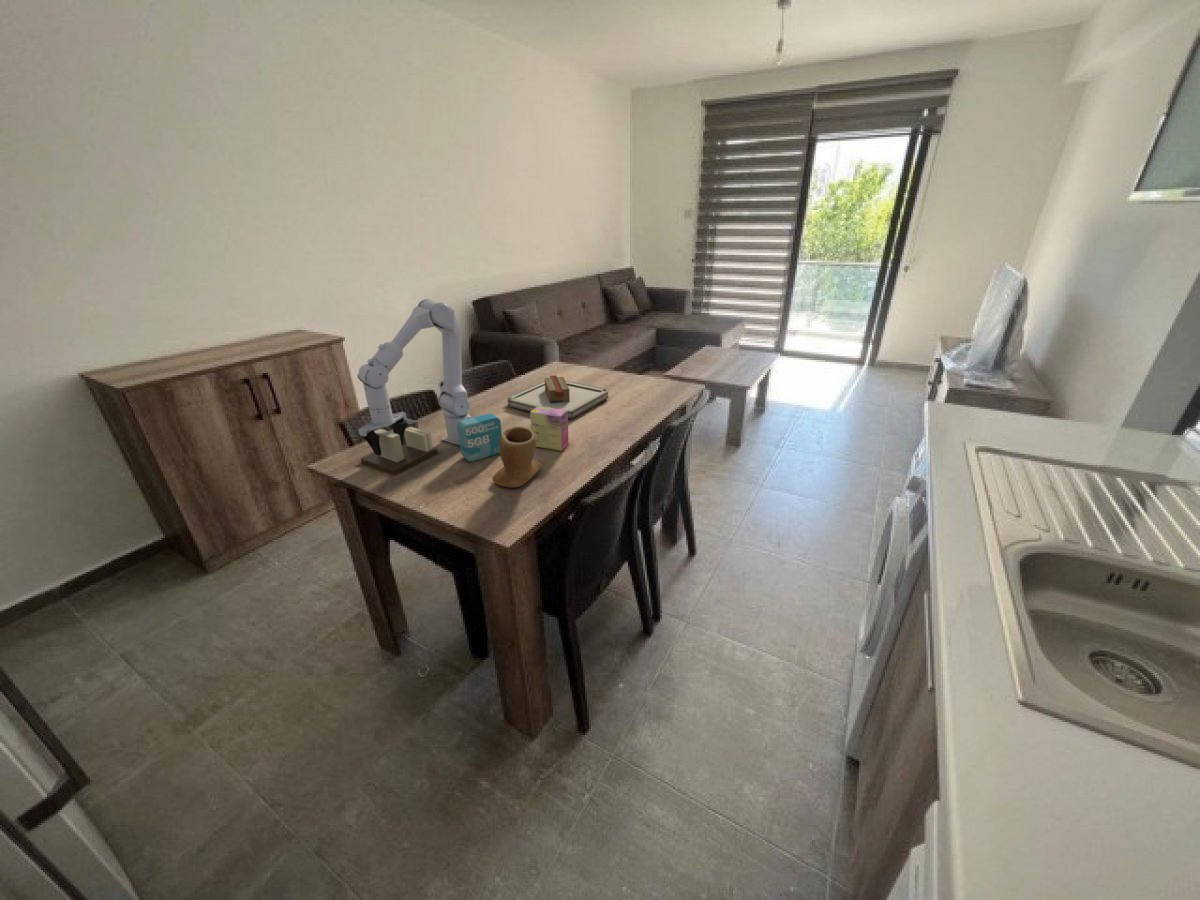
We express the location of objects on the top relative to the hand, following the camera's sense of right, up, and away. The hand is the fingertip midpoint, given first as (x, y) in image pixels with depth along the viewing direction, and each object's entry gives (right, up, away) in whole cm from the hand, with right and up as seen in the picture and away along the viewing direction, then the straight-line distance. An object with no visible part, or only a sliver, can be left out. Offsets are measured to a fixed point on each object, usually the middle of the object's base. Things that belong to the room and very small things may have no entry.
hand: (389, 449), depth 141 cm
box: (+46, +1, +11) cm, 48 cm away
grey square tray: (+46, +18, +46) cm, 68 cm away
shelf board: (+2, -3, +4) cm, 5 cm away
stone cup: (+40, -8, -7) cm, 42 cm away
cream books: (+6, +1, +7) cm, 10 cm away
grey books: (-2, +4, +18) cm, 18 cm away
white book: (0, -2, +1) cm, 3 cm away
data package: (+26, -2, +6) cm, 27 cm away
